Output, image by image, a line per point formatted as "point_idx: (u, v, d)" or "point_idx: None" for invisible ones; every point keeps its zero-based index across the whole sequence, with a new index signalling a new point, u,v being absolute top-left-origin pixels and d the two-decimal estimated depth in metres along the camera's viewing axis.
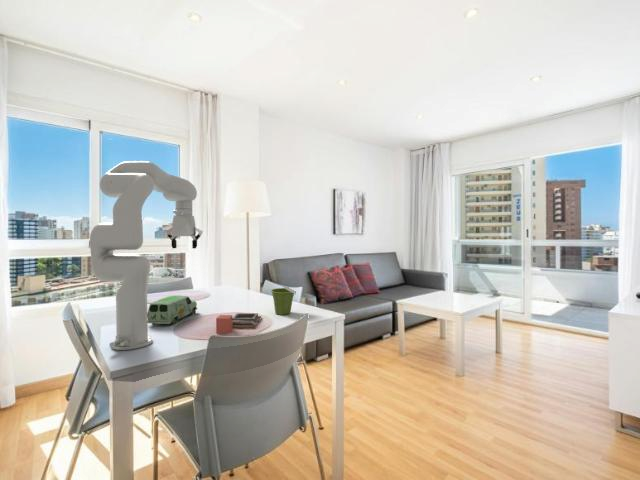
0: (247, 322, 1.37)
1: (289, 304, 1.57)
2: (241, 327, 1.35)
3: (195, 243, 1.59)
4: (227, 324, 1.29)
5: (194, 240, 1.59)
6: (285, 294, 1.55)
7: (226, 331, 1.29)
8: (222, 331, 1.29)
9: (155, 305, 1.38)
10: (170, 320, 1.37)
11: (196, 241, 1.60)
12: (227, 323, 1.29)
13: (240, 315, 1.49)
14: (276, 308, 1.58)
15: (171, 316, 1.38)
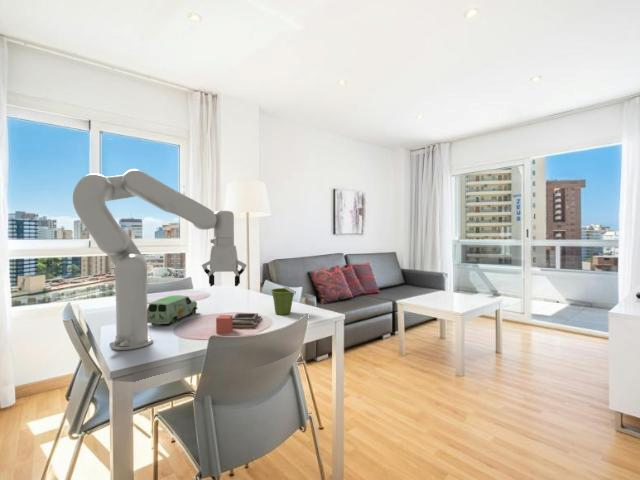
0: (247, 322, 1.37)
1: (289, 304, 1.57)
2: (241, 327, 1.35)
3: (238, 280, 1.30)
4: (227, 324, 1.29)
5: (237, 276, 1.30)
6: (285, 294, 1.55)
7: (226, 331, 1.29)
8: (222, 331, 1.29)
9: (154, 305, 1.38)
10: (169, 320, 1.38)
11: (239, 277, 1.31)
12: (227, 323, 1.29)
13: (240, 315, 1.49)
14: (276, 308, 1.58)
15: (170, 316, 1.38)
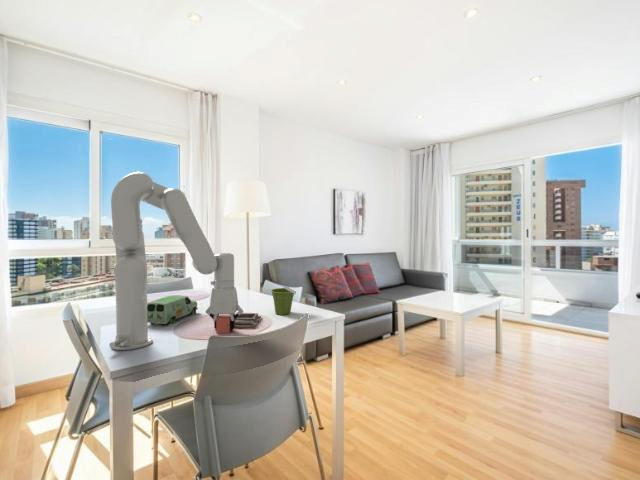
0: (247, 322, 1.37)
1: (289, 304, 1.57)
2: (241, 327, 1.35)
3: (233, 324, 1.30)
4: (227, 324, 1.29)
5: (232, 321, 1.30)
6: (285, 294, 1.55)
7: (226, 331, 1.29)
8: (222, 331, 1.29)
9: (152, 305, 1.39)
10: (166, 320, 1.38)
11: (234, 321, 1.31)
12: (227, 323, 1.29)
13: (240, 315, 1.49)
14: (276, 308, 1.58)
15: (167, 316, 1.38)
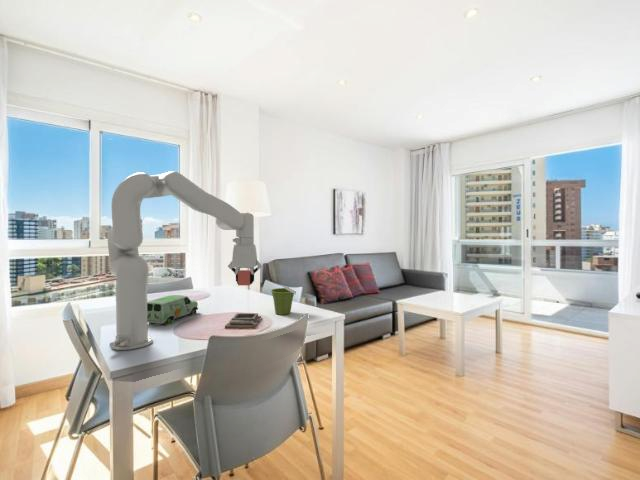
0: (247, 322, 1.37)
1: (289, 304, 1.57)
2: (241, 327, 1.35)
3: (253, 278, 1.44)
4: (248, 277, 1.42)
5: None
6: (285, 294, 1.55)
7: (247, 283, 1.42)
8: (243, 283, 1.42)
9: (150, 304, 1.39)
10: (163, 320, 1.38)
11: (253, 275, 1.45)
12: (248, 276, 1.42)
13: (240, 315, 1.49)
14: (276, 308, 1.58)
15: (165, 316, 1.38)
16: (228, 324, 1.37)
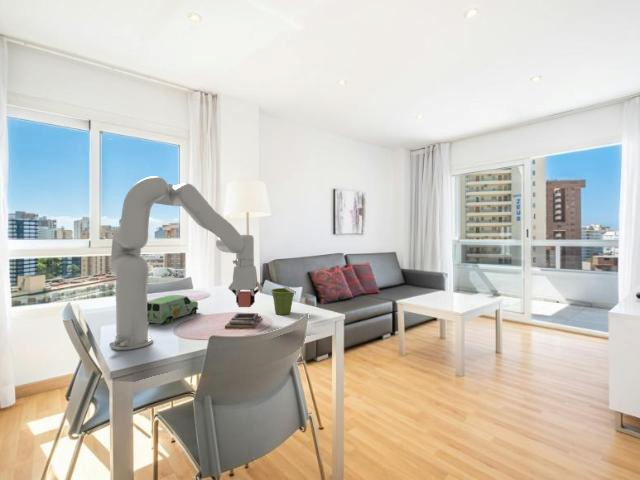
0: (247, 322, 1.37)
1: (289, 304, 1.57)
2: (241, 327, 1.35)
3: (253, 299, 1.44)
4: (248, 298, 1.43)
5: (252, 296, 1.44)
6: (285, 294, 1.55)
7: (247, 305, 1.43)
8: (244, 305, 1.43)
9: (149, 304, 1.40)
10: (162, 320, 1.38)
11: (254, 296, 1.45)
12: (248, 297, 1.42)
13: (240, 315, 1.49)
14: (276, 308, 1.58)
15: (163, 316, 1.39)
16: (228, 324, 1.37)
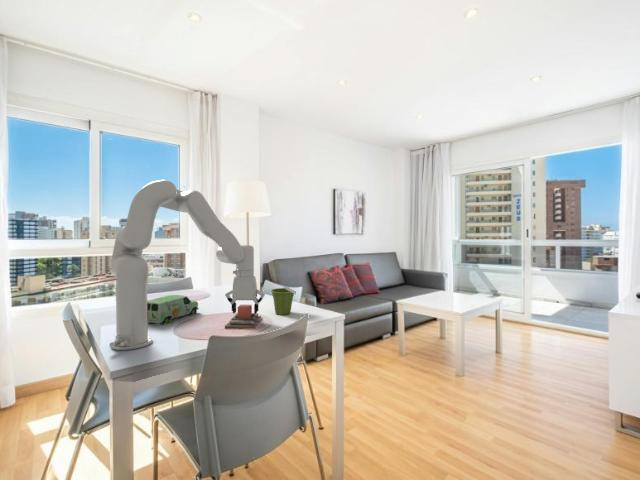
0: (247, 322, 1.37)
1: (289, 304, 1.57)
2: (241, 327, 1.35)
3: (257, 307, 1.44)
4: (247, 312, 1.43)
5: (256, 304, 1.44)
6: (285, 294, 1.55)
7: None
8: None
9: (148, 304, 1.40)
10: (160, 319, 1.38)
11: None
12: (247, 311, 1.42)
13: None
14: (276, 308, 1.58)
15: (162, 315, 1.39)
16: (228, 324, 1.37)
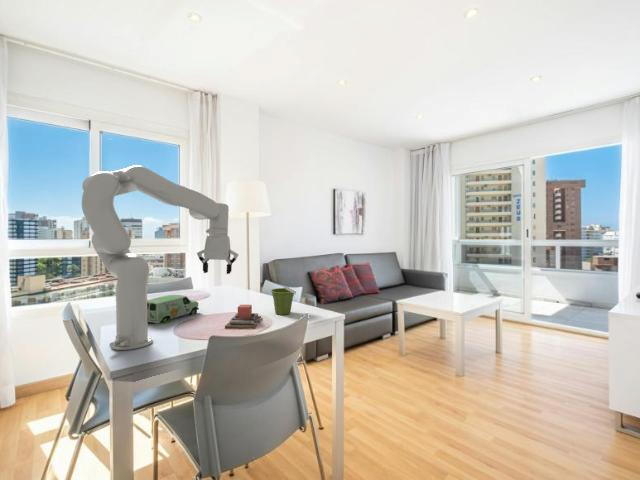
0: (247, 322, 1.37)
1: (289, 304, 1.57)
2: (241, 327, 1.35)
3: (230, 268, 1.39)
4: (247, 312, 1.43)
5: (229, 264, 1.39)
6: (285, 294, 1.55)
7: None
8: None
9: (147, 303, 1.41)
10: (158, 319, 1.39)
11: (231, 265, 1.40)
12: (247, 311, 1.42)
13: None
14: (276, 308, 1.58)
15: (159, 315, 1.39)
16: (228, 324, 1.37)
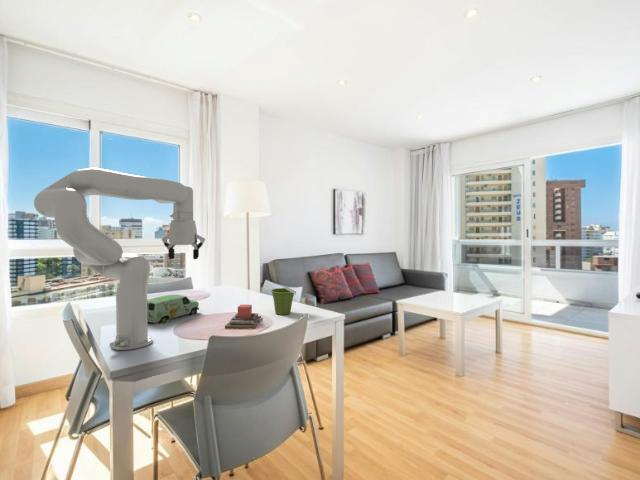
0: (247, 322, 1.37)
1: (289, 304, 1.57)
2: (241, 327, 1.35)
3: (196, 253, 1.34)
4: (247, 312, 1.43)
5: (195, 249, 1.34)
6: (285, 294, 1.55)
7: None
8: None
9: None
10: (156, 319, 1.39)
11: (198, 250, 1.35)
12: (247, 311, 1.42)
13: None
14: (276, 308, 1.58)
15: (158, 315, 1.39)
16: (228, 324, 1.37)
